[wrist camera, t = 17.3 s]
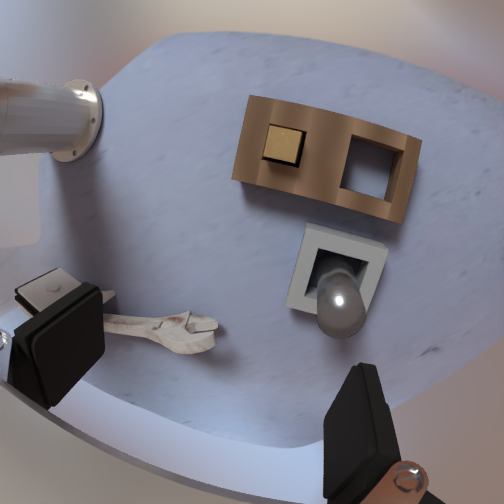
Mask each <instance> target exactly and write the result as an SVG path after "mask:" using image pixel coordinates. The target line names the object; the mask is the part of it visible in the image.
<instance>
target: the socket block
mask: <svg viewBox="0 0 504 504" xmlns="http://www.w3.org/2000/svg"><path fill="white" fill-rule="evenodd" d="M270 125H271V126H276V127H281V128H285V129H290V130H294V131H299V132H302V134H305V135H306V139H305V144H304V148H303V152H302V157H301V161H300V166H299V168H298V167H293V166H289V165H285V164H281V163H276V162H272V161H267V157H266V156H263V154H264V149H265V145H266V140H267V136H268V131H269V127H270ZM351 138H352V139H356V140H359V141H362V142H366V143H369V144H372V145H375V146H379V147H382V148H385V149H388V150H391V151H394V152H395V156H394V160H393V165H392V169H391V173H390V178H389V182H388V186H387V190H386V193H385V197H384V200H383V199H379V198H376V197H373V196H369V195H366V194H363V193H359V192H356V191H353V190H349V189H346V188H342V187H340V183H341V179H342V175H343V170H344V166H345V162H346V158H347V153H348V149H349V144H350V140H351ZM421 144H422V140H420V139H417V138H415V137H412V136H409V135H406V134H404V133H401V132H398V131H395V130H392V129H389V128H386V127H383V126H380V125H377V124H374V123H370V122H367V121H364V120H361V119H357V118H354V117H350V116H346V115H343V114H339V113H335V112H331V111H327V110H323V109H319V108H315V107H311V106H306V105H302V104H297V103H292V102H287V101H282V100H277V99H271V98H266V97H260V96H253V95H249V99H248V103H247V108H246V112H245V117H244V121H243V126H242V130H241V135H240V140H239V144H238V149H237V154H236V159H235V163H234V168H233V173H232V178H231V179H232V180H237V181H241V182H246V183H250V184H255V185H259V186H263V187H268V188H272V189H276V190H280V191H284V192H288V193H292V194H296V195H300V196H304V197H308V198H312V199H316V200H320V201H323V202H327V203H331V204H334V205H338V206H342V207H345V208H349V209H352V210H356V211H359V212H363V213H366V214H369V215H373V216H376V217H379V218H383V219H386V220H389V221H392V222H396V223H399V224H402V222H403V218H404V215H405V211H406V207H407V204H408V200H409V196H410V192H411V188H412V184H413V180H414V176H415V172H416V168H417V163H418V159H419V154H420V149H421Z"/></svg>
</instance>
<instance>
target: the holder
mask: <svg viewBox="0 0 504 504" xmlns="http://www.w3.org/2000/svg"><path fill="white" fill-rule="evenodd" d="M318 248H320V249H324V250H328V251H332V252H335V253H339V254H343V255H346V256H350V257H354V258H357V259H361V260H362V261H361V264H360V267H359V270H358V273H357V276H356V282H357V285H358V288H359V291H360V294H361V297H362V300H363V303H364V306H365V310H366V312H367V310H368V307H369V305H370V302H371V300H372V297H373V294H374V292H375V289H376V286H377V284H378V281H379V278H380V275H381V272H382V270H383V267H384V264H385V261H386V258H387V255H388V252H389V250H388V249H387V248H386V247H385V245H384V244H383V243H382V242H379V241H375V240H372V239H368V238H365V237H361V236H358V235H354V234H351V233H347V232H344V231H340V230H336V229H333V228H329V227H325V226H322V225H318V224H314V223H310V222H307V224H306V228H305V231H304V235H303V239H302V243H301V247H300V250H299V254H298V258H297V262H296V265H295V269H294V272H293V276H292V280H291V283H290V287H289V290H288V294H287V298H286V303H285V306H286V307H290V308H294V309H297V310H301V311H305V312H309V313H313V314H317V288H316V287H313V286H309V285H308V281H309V278H310V275H311V271H312V268H313V264H314V261H315V257H316V254H317V250H318Z"/></svg>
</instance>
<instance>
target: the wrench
mask: <svg viewBox="0 0 504 504" xmlns="http://www.w3.org/2000/svg"><path fill="white" fill-rule="evenodd" d="M103 321H104V332H110V333H117V334H123V335H130V336H138V337H146V338H148V339H150V340H153V341H155V342H157V343H160V344H162V345H163V346H165V347H167V348H168V349H170V350H171V351H173V352H175V353H179V354H195V353H200V352H203V351H206V350H209V349H211V348H212V347H214V346H216V343H217V342H216V338H215V334H214V331H211V332H203V333H196V334H192V333H194V332H195V331H208V330H213V329H217V327H218V323H217V320H215V319H213V318H210V317H205V316H198V315H191V312H190V311H187V312H184V313H181V314H178V315H172V316H167V317H158V318H147V317H134V316H124V315H115V314H106V313H103Z"/></svg>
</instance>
